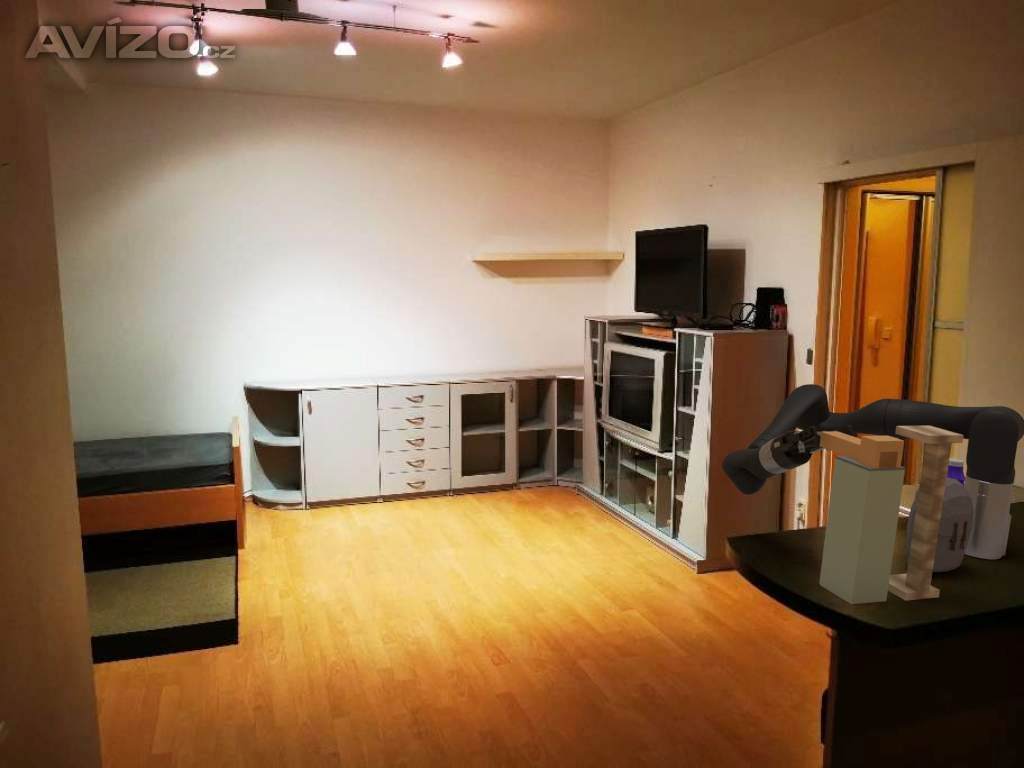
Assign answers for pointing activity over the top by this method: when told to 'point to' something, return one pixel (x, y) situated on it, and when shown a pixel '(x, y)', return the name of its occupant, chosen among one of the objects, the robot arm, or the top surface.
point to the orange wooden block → (866, 448)
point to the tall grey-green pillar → (861, 530)
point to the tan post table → (925, 512)
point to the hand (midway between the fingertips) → (833, 430)
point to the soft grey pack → (948, 526)
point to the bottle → (956, 470)
